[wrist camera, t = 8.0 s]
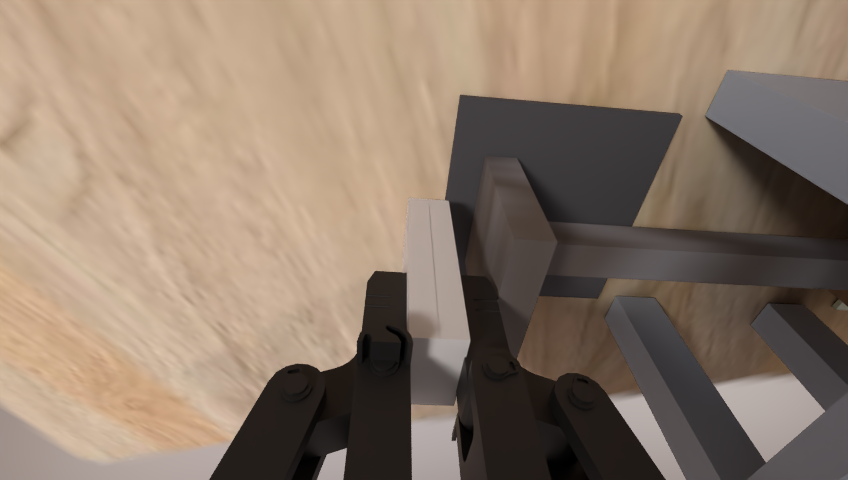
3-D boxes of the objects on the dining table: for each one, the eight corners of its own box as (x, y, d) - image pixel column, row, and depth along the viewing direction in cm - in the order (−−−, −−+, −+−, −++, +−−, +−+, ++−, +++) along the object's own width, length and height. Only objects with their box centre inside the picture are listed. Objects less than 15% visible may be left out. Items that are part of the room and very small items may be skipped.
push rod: (463, 269, 19) (482, 388, 14) (487, 143, 15) (525, 242, 10) (938, 294, 21) (1101, 405, 16) (1058, 186, 17) (1313, 286, 12)
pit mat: (432, 287, 20) (432, 290, 20) (460, 95, 15) (460, 97, 14) (596, 295, 21) (597, 298, 20) (679, 113, 15) (682, 115, 15)
